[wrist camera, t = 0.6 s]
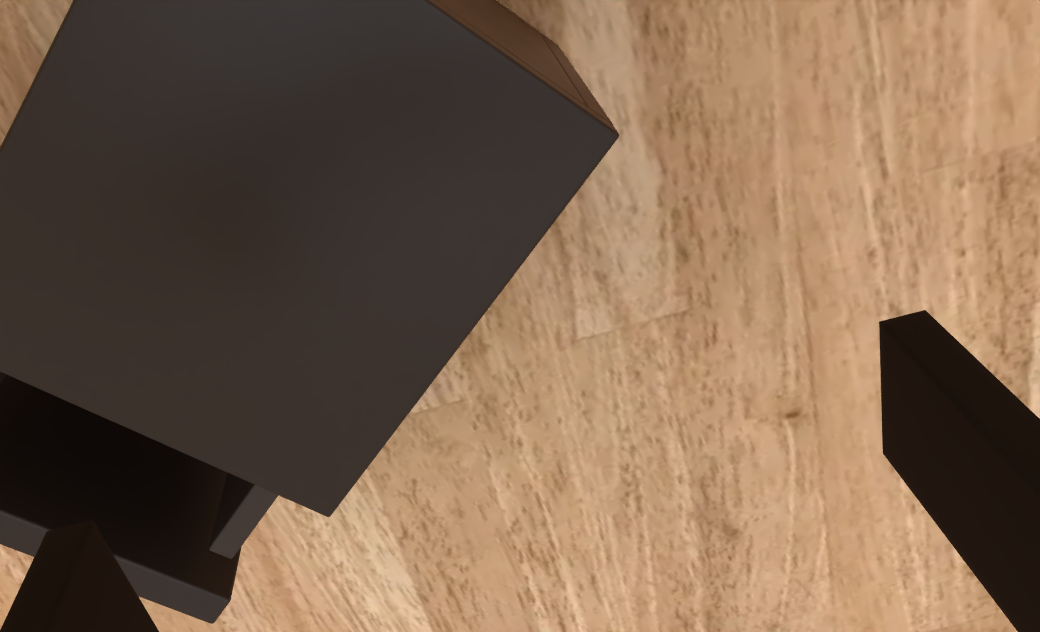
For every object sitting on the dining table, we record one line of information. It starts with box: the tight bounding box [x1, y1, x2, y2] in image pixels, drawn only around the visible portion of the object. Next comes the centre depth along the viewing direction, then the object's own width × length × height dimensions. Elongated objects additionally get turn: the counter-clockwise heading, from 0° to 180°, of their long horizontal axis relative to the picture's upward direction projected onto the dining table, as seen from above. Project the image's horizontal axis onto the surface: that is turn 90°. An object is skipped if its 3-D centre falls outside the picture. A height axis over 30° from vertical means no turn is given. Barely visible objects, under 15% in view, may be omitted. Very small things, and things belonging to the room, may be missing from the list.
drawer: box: [0, 372, 278, 624], centre depth 29 cm, size 14×10×8 cm
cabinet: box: [0, 0, 619, 517], centre depth 27 cm, size 14×12×10 cm
